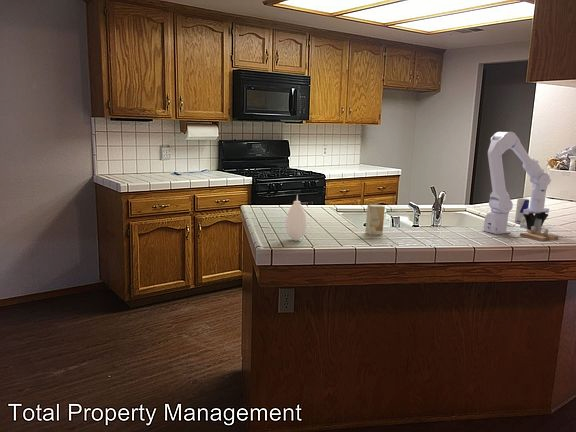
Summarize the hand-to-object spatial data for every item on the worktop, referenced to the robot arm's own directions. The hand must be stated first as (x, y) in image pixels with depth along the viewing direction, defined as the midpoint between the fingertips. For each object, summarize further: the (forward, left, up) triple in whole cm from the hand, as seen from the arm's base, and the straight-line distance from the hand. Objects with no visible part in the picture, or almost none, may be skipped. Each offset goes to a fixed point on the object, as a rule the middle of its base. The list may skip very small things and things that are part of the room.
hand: (534, 229), depth 214 cm
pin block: (-8, -8, -1) cm, 12 cm away
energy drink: (+14, +18, -2) cm, 23 cm away
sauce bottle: (-110, +20, -2) cm, 112 cm away
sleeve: (0, 0, -1) cm, 1 cm away
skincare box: (-73, +20, -2) cm, 76 cm away
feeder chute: (+9, +9, -1) cm, 13 cm away
